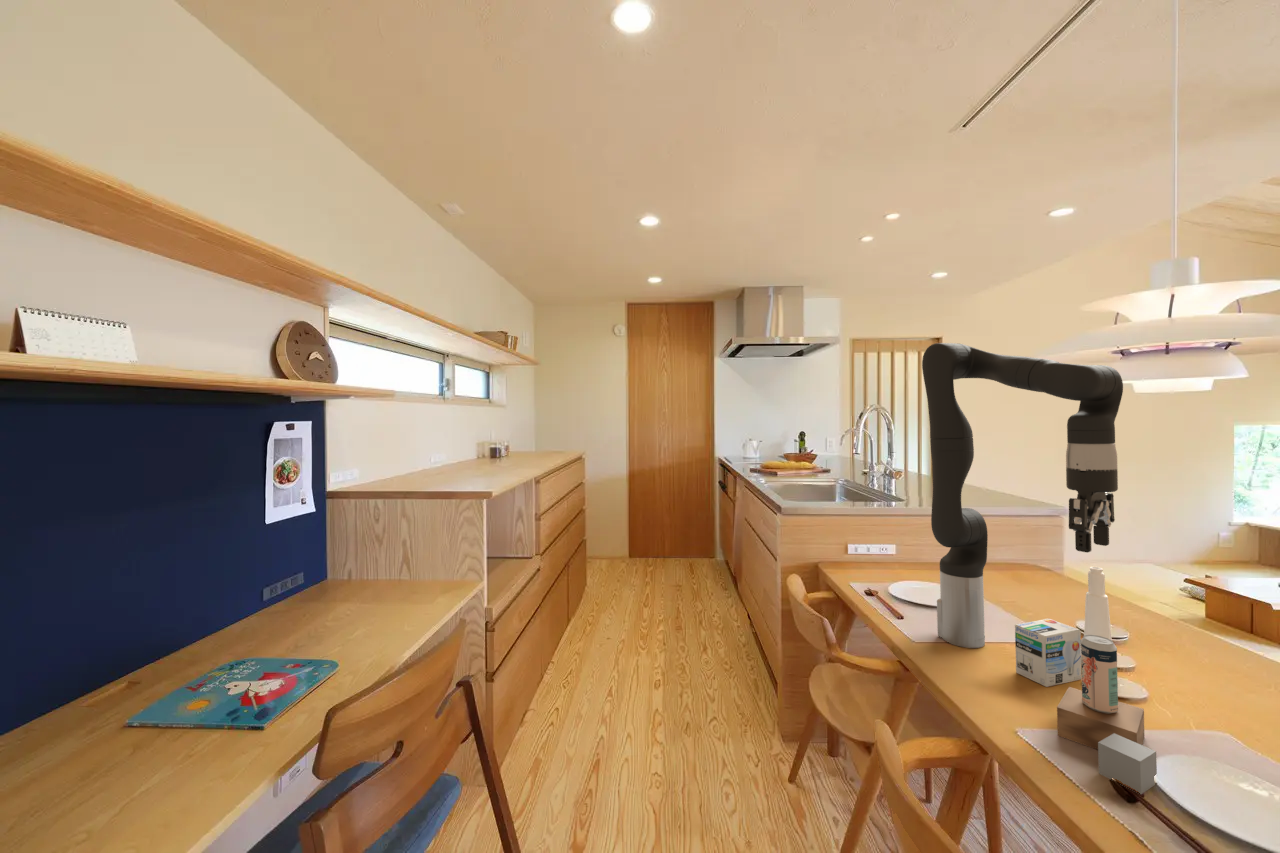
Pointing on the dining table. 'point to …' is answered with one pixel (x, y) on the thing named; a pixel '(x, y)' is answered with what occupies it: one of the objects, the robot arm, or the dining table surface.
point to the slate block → (1127, 762)
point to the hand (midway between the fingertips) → (1092, 548)
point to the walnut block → (1097, 721)
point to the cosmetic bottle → (1097, 605)
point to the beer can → (1099, 673)
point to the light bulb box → (1048, 652)
